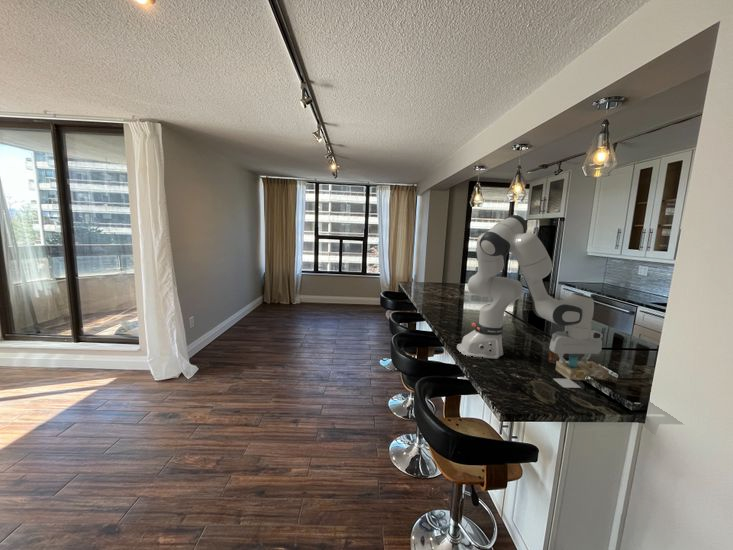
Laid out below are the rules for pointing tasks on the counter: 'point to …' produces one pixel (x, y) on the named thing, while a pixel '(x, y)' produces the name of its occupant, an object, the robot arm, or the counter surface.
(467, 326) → the counter surface
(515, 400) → the counter surface
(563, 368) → the socket block
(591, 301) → the robot arm
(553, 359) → the brown rounded slab
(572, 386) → the deck
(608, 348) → the counter surface
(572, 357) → the plug
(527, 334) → the counter surface
